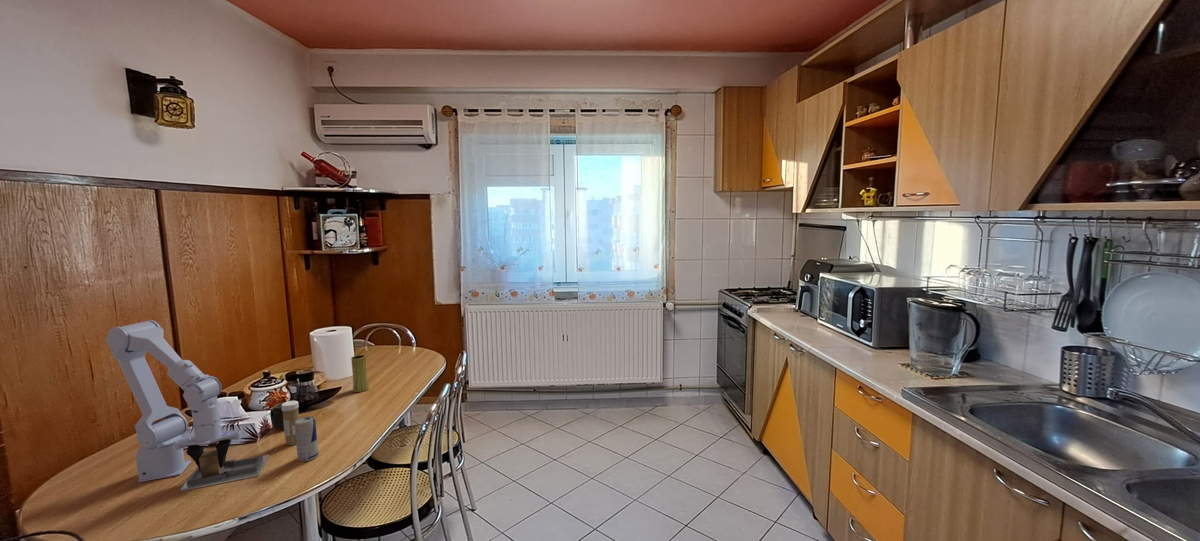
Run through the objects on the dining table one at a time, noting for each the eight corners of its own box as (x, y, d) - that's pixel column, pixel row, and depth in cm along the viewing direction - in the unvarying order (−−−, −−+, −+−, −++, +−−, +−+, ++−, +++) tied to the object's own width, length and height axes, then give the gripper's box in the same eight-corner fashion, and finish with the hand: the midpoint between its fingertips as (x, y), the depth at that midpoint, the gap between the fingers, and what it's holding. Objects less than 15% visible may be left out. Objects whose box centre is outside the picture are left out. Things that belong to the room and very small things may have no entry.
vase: (354, 388, 199) (351, 355, 198) (370, 386, 201) (367, 353, 199) (351, 393, 194) (348, 359, 192) (367, 391, 196) (365, 358, 194)
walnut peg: (201, 478, 131) (198, 458, 130) (206, 471, 135) (204, 451, 134) (219, 475, 133) (216, 455, 132) (224, 468, 136) (221, 448, 135)
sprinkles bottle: (302, 443, 152) (298, 403, 150) (285, 447, 149) (281, 406, 148) (301, 437, 156) (297, 398, 154) (285, 441, 153) (281, 402, 152)
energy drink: (322, 452, 146) (318, 415, 144) (312, 461, 140) (308, 423, 139) (304, 453, 146) (300, 416, 144) (294, 462, 140) (290, 424, 139)
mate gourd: (270, 426, 164) (268, 399, 163) (296, 420, 169) (293, 393, 168) (273, 433, 159) (271, 405, 158) (299, 426, 164) (297, 399, 163)
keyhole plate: (180, 491, 126) (179, 485, 126) (197, 469, 137) (196, 463, 137) (258, 476, 133) (258, 470, 133) (269, 456, 144) (268, 450, 144)
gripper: (167, 433, 125) (174, 480, 127) (233, 422, 131) (239, 468, 133) (178, 422, 132) (184, 467, 134) (241, 412, 138) (246, 456, 139)
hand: (212, 467), depth 134 cm, fingers closed on walnut peg, 4 cm apart
